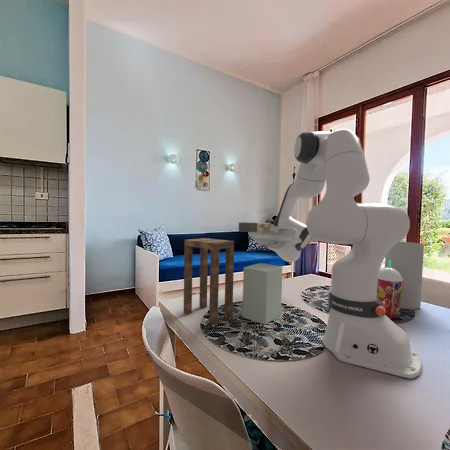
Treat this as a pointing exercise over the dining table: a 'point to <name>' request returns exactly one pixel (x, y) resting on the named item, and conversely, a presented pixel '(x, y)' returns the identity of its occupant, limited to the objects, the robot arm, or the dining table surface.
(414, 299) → the cylinder vase
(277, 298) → the pale green block
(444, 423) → the dining table surface
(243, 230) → the mallet
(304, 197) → the robot arm
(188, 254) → the plant stand
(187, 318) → the dining table surface
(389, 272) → the smoothie
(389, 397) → the dining table surface
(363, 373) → the dining table surface
